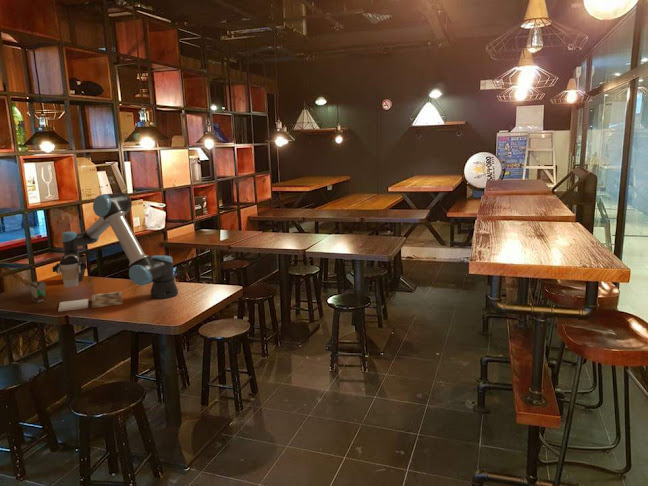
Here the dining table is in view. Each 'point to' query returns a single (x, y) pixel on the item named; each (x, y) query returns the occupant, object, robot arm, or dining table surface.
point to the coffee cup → (69, 271)
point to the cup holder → (106, 302)
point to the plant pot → (81, 258)
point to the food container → (38, 291)
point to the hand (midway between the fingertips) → (69, 271)
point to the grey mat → (73, 305)
